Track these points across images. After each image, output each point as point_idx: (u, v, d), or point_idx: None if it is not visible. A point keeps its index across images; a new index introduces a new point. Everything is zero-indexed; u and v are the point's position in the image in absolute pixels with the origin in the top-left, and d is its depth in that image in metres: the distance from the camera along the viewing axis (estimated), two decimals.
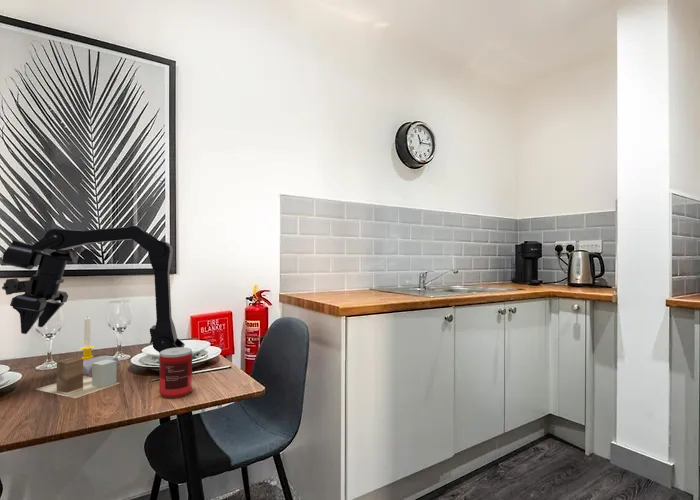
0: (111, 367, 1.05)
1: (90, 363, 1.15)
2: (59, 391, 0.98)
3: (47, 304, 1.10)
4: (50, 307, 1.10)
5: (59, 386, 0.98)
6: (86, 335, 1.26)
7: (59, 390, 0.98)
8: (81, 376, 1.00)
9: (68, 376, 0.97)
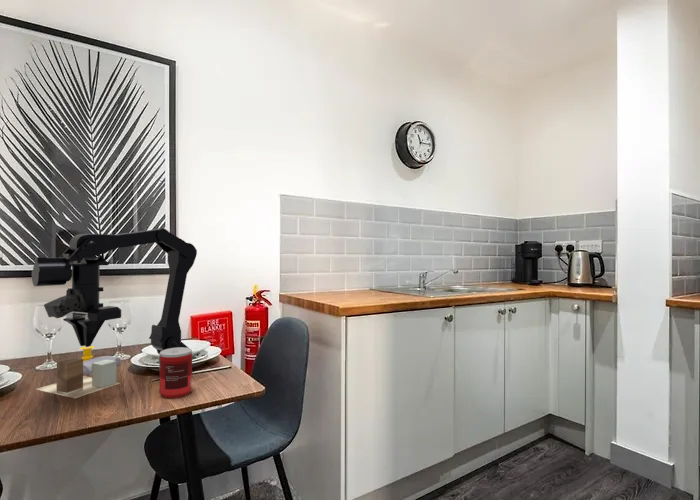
0: (111, 367, 1.05)
1: None
2: (59, 391, 0.98)
3: None
4: None
5: (59, 386, 0.98)
6: None
7: (59, 390, 0.98)
8: (81, 376, 1.00)
9: (68, 376, 0.97)
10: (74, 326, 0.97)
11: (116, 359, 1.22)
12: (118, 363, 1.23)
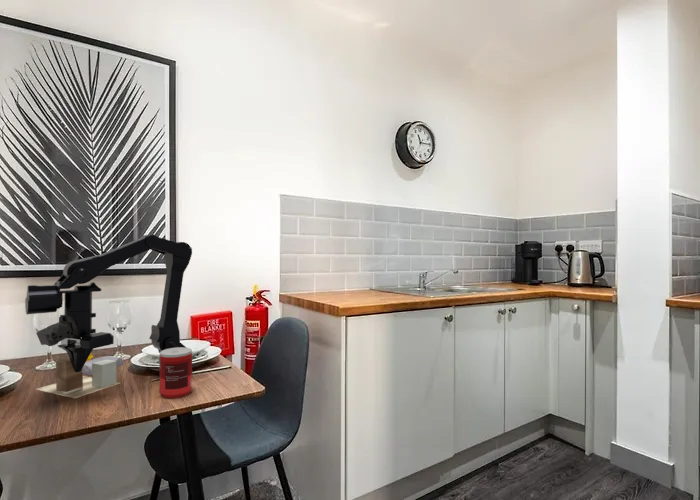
0: (111, 367, 1.05)
1: None
2: (59, 391, 0.98)
3: None
4: None
5: (59, 385, 0.98)
6: None
7: (59, 390, 0.98)
8: (80, 375, 1.00)
9: (67, 375, 0.97)
10: (69, 352, 0.97)
11: (118, 359, 1.22)
12: (120, 363, 1.23)
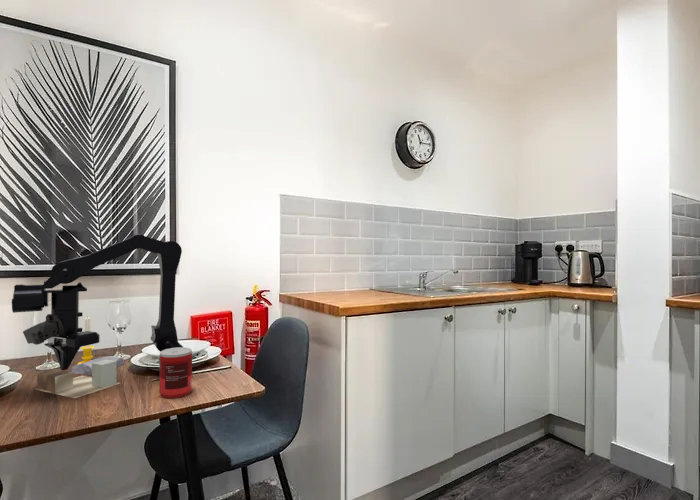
0: (111, 367, 1.05)
1: None
2: (55, 387, 0.99)
3: None
4: None
5: (51, 387, 0.99)
6: None
7: (54, 387, 0.99)
8: (62, 371, 1.03)
9: (46, 374, 1.01)
10: (55, 351, 0.99)
11: (119, 359, 1.22)
12: (121, 363, 1.22)
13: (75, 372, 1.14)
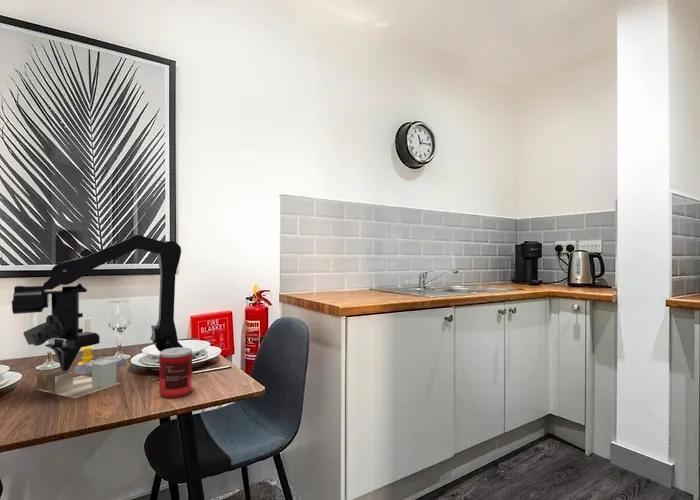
0: (111, 367, 1.05)
1: None
2: (55, 387, 0.99)
3: None
4: None
5: (51, 387, 0.99)
6: None
7: (54, 387, 0.99)
8: (62, 371, 1.03)
9: (46, 374, 1.01)
10: (56, 352, 1.00)
11: (121, 359, 1.22)
12: (123, 363, 1.22)
13: (77, 372, 1.14)
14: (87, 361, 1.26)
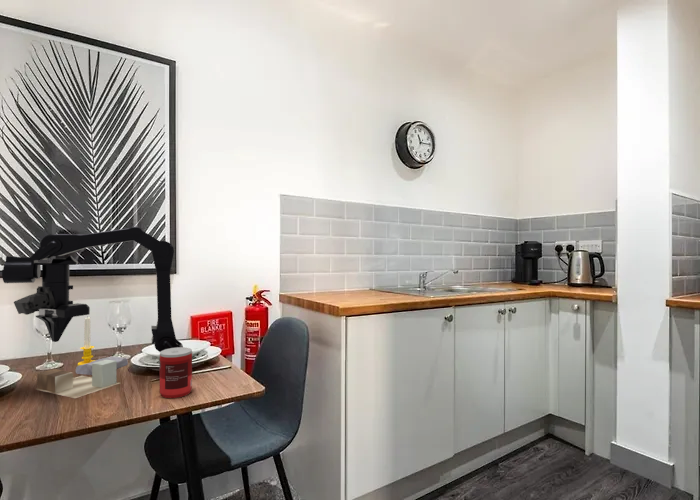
0: (111, 367, 1.05)
1: None
2: (55, 387, 0.99)
3: None
4: None
5: (51, 387, 0.99)
6: (86, 335, 1.26)
7: (54, 387, 0.99)
8: (62, 371, 1.03)
9: (46, 374, 1.01)
10: (46, 323, 1.01)
11: (123, 359, 1.21)
12: (125, 363, 1.22)
13: (79, 372, 1.14)
14: (87, 361, 1.26)
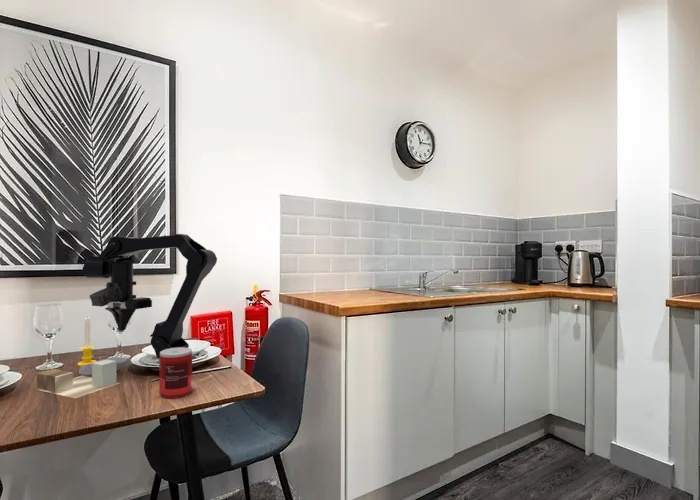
0: (111, 367, 1.05)
1: None
2: (55, 387, 0.99)
3: None
4: None
5: (51, 387, 0.99)
6: (86, 335, 1.26)
7: (54, 387, 0.99)
8: (62, 371, 1.03)
9: (46, 374, 1.01)
10: (114, 314, 1.15)
11: (126, 360, 1.21)
12: (128, 364, 1.22)
13: (83, 373, 1.13)
14: (87, 361, 1.26)
